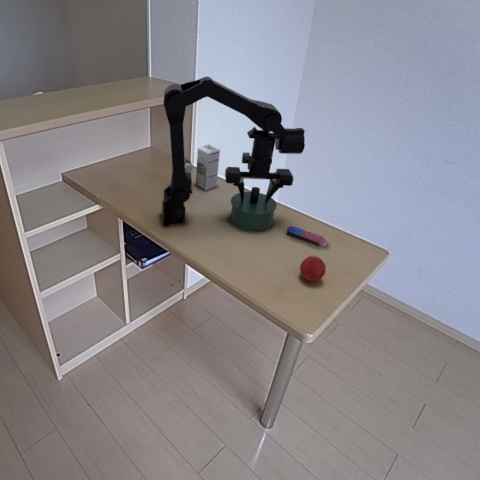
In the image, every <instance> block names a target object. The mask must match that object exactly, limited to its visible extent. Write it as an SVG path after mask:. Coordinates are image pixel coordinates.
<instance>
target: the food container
mask: <svg viewBox="0 0 480 480" xmlns="http://www.w3.org/2000/svg"><path fill="white" fill-rule="evenodd" d="M184 158H185V170H186V173H189V172H191V173H192V171H193V169H194V168H193V163H192V161H191V159H190V158H187V157H184ZM172 170H173V168H172ZM172 170H171V171H172Z"/></svg>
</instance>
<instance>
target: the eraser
mask: <svg viewBox="0 0 480 480" xmlns="http://www.w3.org/2000/svg"><path fill="white" fill-rule="evenodd" d="M286 234H287V236H288V237H290V238H293V239H296V240H299V241H301V242H304V243H308V244H311V245H313V246H316V247H319V248H321V247H322V248H324V247H325V246H326V245H327V240H326V238H325V237H323V235H322V236H321V235H319V234H316V233H314V232H310V231H306V230H305V229H303V228H300V227H297V226H293V225H292V226H289V227H287V229H286Z"/></svg>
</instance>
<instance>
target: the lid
mask: <svg viewBox="0 0 480 480" xmlns="http://www.w3.org/2000/svg"><path fill="white" fill-rule="evenodd" d="M265 197H266V194H265V193H262V192H261V188H260V187H258V186H252V187H251V191H244V200H243V202H242V201H241V196H240V192H238V193H236V194H234V195H232V196H231V198H230V204H231V207H232V206H233V207H234V208H235V209H237V210H238V211H241V212H243V213H246V214H251V215H265V214H269V213H272V212H273V211H274V210H276V209H277V205H278V204H277V201H276V200H275V198H273V197H271V198H270V199H269V201H268V202H267V203H265ZM274 212H275V211H274Z"/></svg>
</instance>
